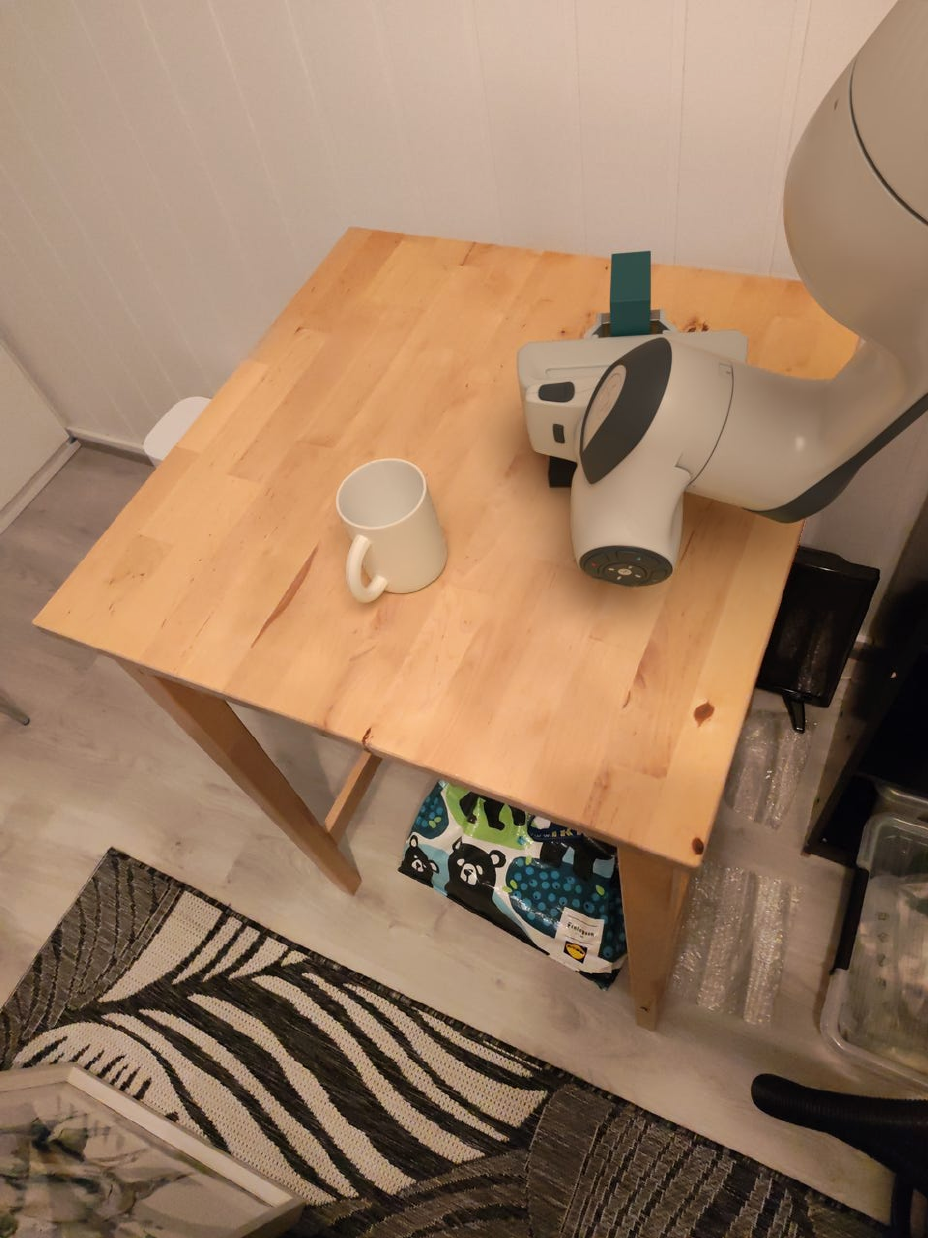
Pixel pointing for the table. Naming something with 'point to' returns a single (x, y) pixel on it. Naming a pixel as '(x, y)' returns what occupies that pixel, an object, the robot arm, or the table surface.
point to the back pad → (630, 294)
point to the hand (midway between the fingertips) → (630, 316)
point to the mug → (390, 529)
